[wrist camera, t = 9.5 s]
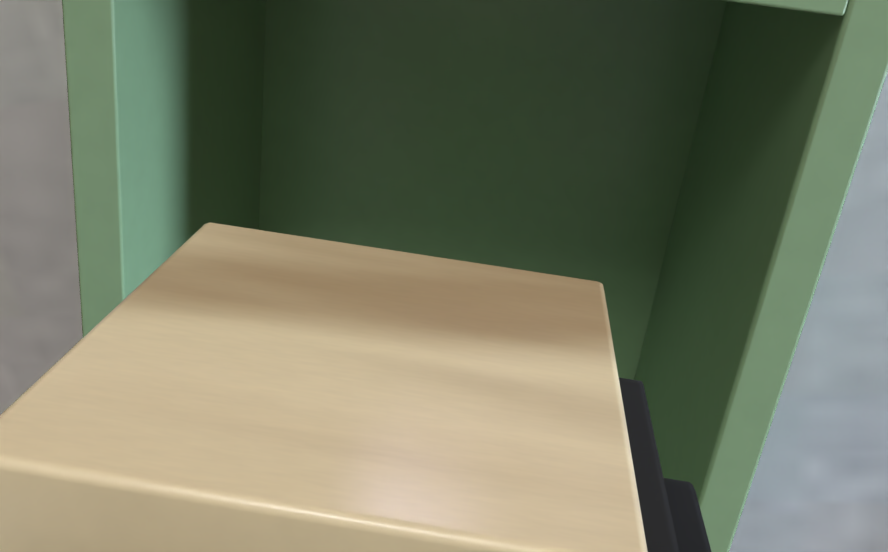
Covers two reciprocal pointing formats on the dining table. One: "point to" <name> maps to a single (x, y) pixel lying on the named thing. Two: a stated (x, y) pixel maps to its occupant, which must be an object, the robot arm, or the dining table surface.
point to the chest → (505, 164)
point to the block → (327, 411)
